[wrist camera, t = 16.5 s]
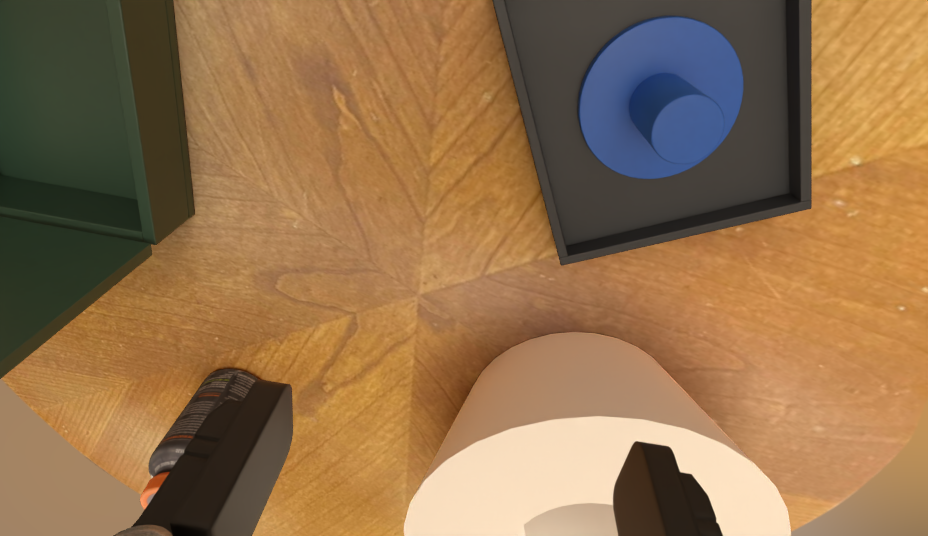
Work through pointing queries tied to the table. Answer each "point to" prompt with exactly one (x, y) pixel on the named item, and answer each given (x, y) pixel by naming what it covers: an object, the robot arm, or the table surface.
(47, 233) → the chest lid
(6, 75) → the green chest
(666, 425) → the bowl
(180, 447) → the pill bottle
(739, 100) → the blue lid
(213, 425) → the robot arm
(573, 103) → the tray
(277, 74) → the table surface
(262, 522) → the table surface
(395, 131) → the table surface
